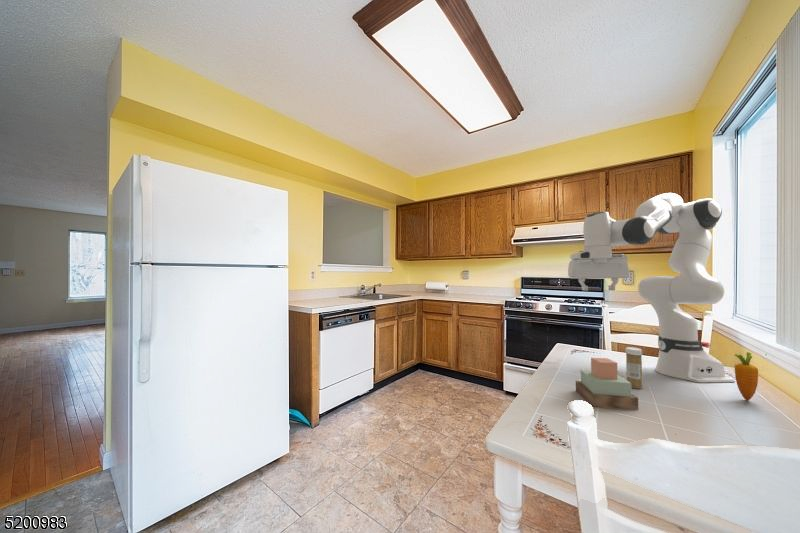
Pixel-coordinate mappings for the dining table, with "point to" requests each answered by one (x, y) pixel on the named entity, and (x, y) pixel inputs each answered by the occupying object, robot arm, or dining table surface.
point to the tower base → (606, 399)
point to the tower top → (606, 385)
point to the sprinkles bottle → (634, 367)
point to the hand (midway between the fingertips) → (598, 290)
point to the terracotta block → (604, 368)
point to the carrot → (746, 376)
